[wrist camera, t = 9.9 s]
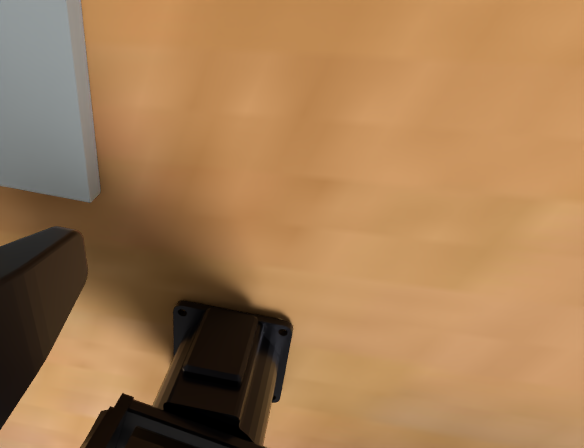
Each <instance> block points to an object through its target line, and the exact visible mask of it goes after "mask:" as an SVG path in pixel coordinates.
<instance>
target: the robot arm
mask: <svg viewBox="0 0 584 448" xmlns="http://www.w3.org/2000/svg"><path fill="white" fill-rule="evenodd" d="M87 274H88V267H87V260H86V253H85V245H84V239H83V236H82V234H81V233H80V232H79V231H78V230H74V229H69V228H64V227H57V226H56V227H51V228H48V229H46V230H43V231H40V232H38V233H35V234H32V235H30V236H27V237H24V238H22V239H19V240H16V241H14V242H11V243H8V244H6V245H3V246H0V430H1V428H2V426H3V425H4V423H5V422H6V420H7V419H8V417H9V416H10V414H11V413H12V411H13V410H14V408H15V407H16V405H17V404H18V402H19V401H20V399H21V398H22V396H23V395H24V393H25V391H26V390H27V388H28V387H29V385H30V384H31V382H32V381H33V379H34V378H35V376H36V375H37V373H38V372H39V370H40V368H41V367H42V365H43V363H44V362H45V360H46V358H47V356H48V355H49V353H50V351H51V349H52V347H53V345H54V343H55V341H56V339H57V337H58V335H59V334H60V332H61V330H62V328H63V326H64V324H65V322H66V320H67V318H68V316H69V314H70V312H71V310H72V308H73V306H74V304H75V302H76V300H77V298H78V296H79V294H80V292H81V290H82V289H83V287H84V284H85V282H86V279H87ZM182 309H183V310H185V311H183V310H182ZM173 325H174V358H173V361H172V363H171V365H170V367H169V370H168V372H167V374H166V376H165V378H164V381H163V383H162V385H161V387H160V390H159V392H158V394H157V396H156V398H155V401H154V403H153V405H152V406H151V405H148V404H145V403H142V402H139V401H137V400H134V397H132V396H129V395H126V394H124V393H122V395H121V397H120V398H119V400H118V402H117V403H116V405H115V406H114V407H111V406H110V408H109V409H108V410H104V411H101V412H100V414H99V416H98V418H97V419H96V421H95V423H94V425H93V427H92V429H91V430H90V432H89V434H88V436H87V437H86V439H85V441H84V442H83V444H82V445H81V447H80V448H267V447H264V446H263V443H264V438H265V433H266V428H267V423H268V418H269V413H270V408H271V403H275V402H278V401H279V400H280V396H281V391H282V385H283V380H284V375H285V369H286V364H287V359H288V354H289V348H290V343H291V338H292V332H293V326H292V324H291V323H290V322H288V321H285V320H280V319H275V318H270V317H265V316H260V315H255V314H250V313H244V312H239V311H234V310H229V309H224V308H219V307H214V306H209V305H203V304H198V303H193V302H188V301H179V302H178V303H177V304H176V306H175V308H174V310H173ZM281 329H285V330H281Z"/></svg>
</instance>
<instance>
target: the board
mask: <svg viewBox="0 0 584 448" xmlns="http://www.w3.org/2000/svg"><path fill="white" fill-rule="evenodd" d="M0 186H4V187H10V188H15V189H20V190H26V191H31V192H36V193H42V194H47V195H52V196H57V197H63V198H68V199H73V200H79V201H84V202H89V203H91V202H92V201H93V200H94V199H95V198H96V197H97V196H98V195H99V194H100V193H101V189H100V180H99V170H98V161H97V151H96V142H95V132H94V123H93V113H92V103H91V94H90V84H89V75H88V65H87V56H86V46H85V37H84V27H83V18H82V8H81V0H0Z"/></svg>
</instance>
